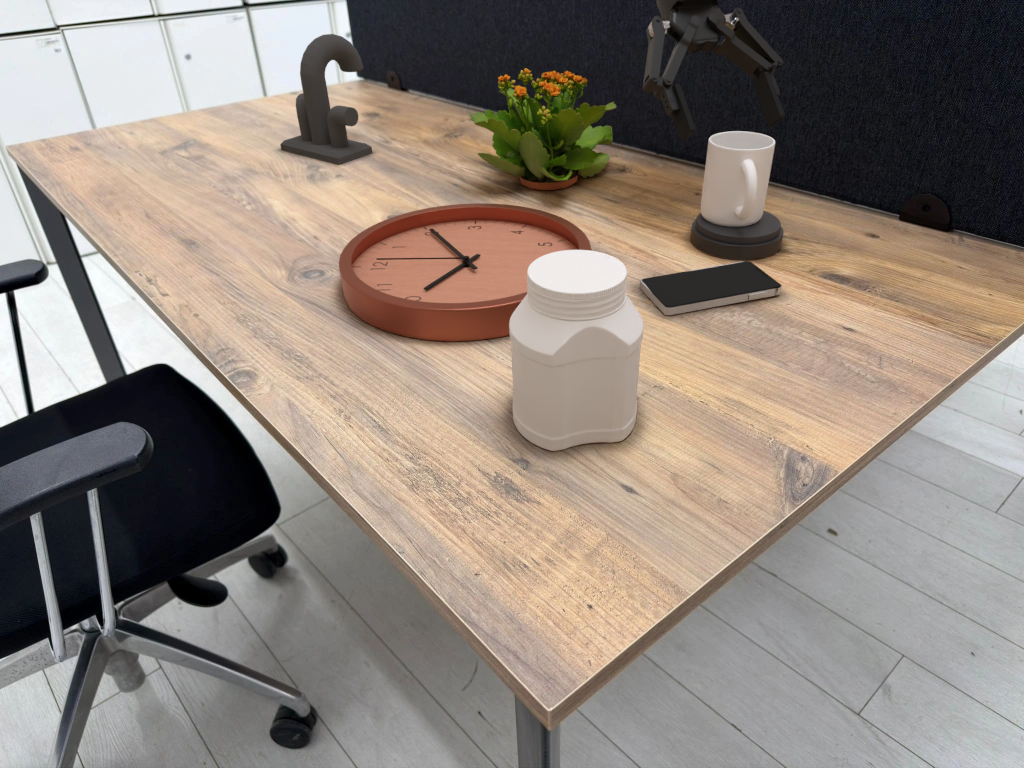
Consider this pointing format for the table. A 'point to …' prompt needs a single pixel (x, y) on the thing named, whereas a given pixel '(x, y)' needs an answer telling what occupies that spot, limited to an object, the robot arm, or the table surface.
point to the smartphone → (709, 287)
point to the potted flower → (546, 132)
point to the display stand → (738, 238)
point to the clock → (450, 268)
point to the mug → (736, 178)
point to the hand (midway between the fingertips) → (733, 128)
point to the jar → (575, 351)
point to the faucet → (325, 105)
